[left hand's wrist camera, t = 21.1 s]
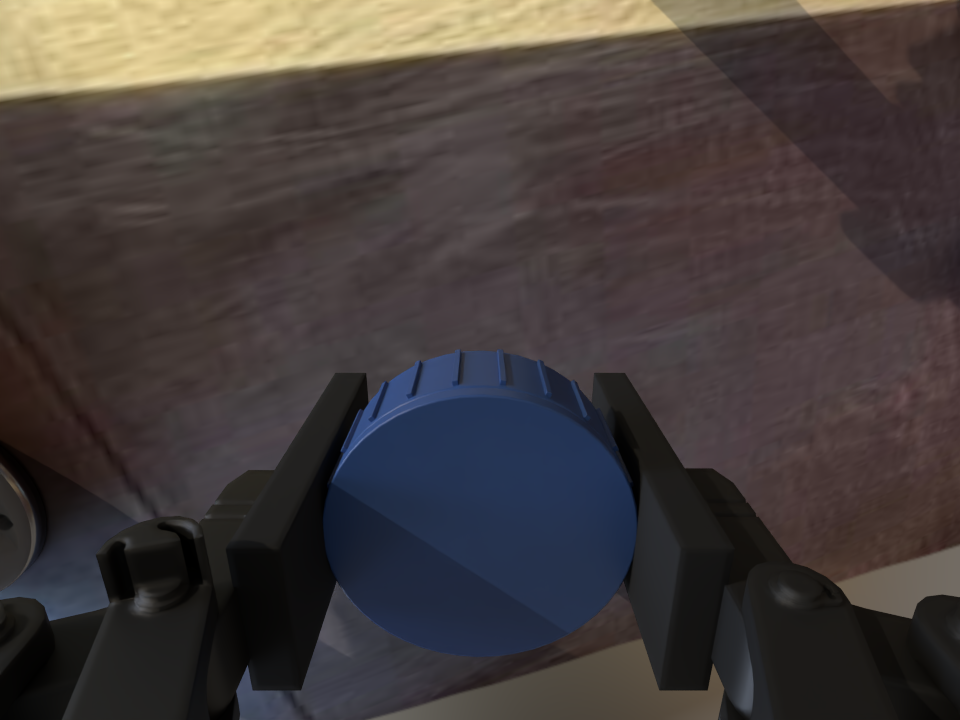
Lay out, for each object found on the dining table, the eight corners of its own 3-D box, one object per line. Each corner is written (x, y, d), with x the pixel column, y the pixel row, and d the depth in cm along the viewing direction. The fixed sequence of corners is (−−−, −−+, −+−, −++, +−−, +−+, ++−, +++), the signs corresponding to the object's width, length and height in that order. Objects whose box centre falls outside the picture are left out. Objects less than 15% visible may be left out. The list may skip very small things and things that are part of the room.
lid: (375, 313, 11) (352, 351, 9) (657, 389, 12) (695, 441, 10) (321, 548, 13) (292, 624, 11) (564, 603, 14) (579, 685, 12)
